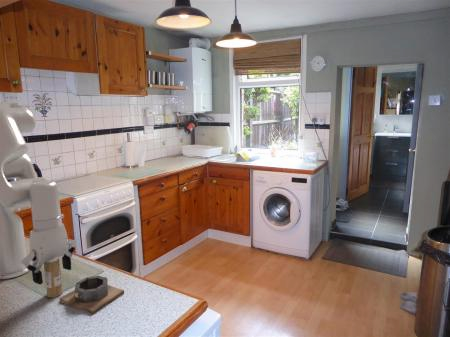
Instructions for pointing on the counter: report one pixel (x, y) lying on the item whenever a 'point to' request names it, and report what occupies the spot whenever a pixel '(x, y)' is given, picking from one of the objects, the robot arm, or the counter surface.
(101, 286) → the socket
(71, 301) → the walnut board
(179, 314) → the counter surface
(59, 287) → the sprinkles bottle
